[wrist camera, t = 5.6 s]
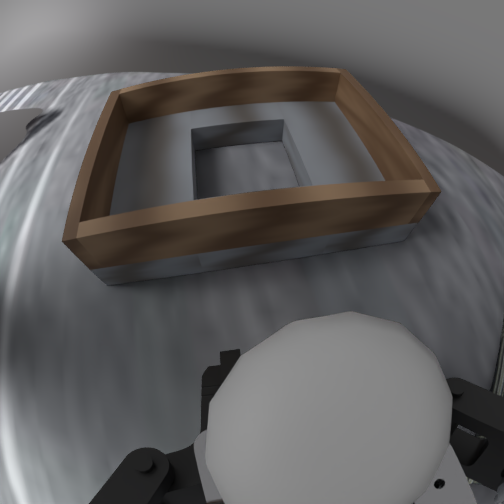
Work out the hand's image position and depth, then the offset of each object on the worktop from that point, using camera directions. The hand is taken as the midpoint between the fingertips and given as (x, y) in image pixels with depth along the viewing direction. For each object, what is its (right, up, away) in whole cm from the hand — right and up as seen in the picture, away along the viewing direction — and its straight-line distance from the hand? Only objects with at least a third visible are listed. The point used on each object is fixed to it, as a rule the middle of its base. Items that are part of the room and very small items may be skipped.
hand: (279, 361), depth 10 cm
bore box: (-2, +10, +12) cm, 16 cm away
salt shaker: (0, -5, +4) cm, 6 cm away
